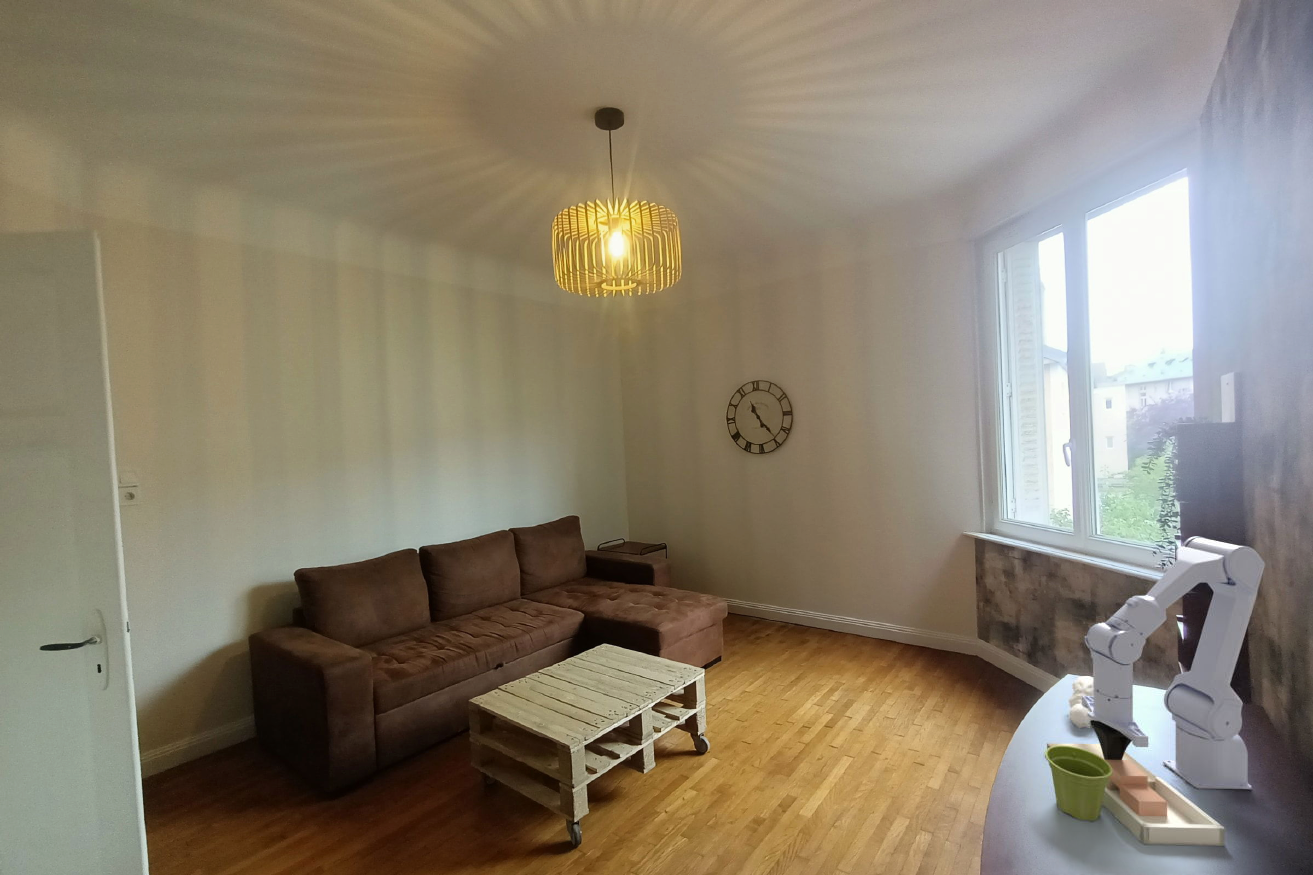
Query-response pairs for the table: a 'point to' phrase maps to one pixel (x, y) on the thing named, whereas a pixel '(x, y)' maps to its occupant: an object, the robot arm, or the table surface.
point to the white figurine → (1080, 701)
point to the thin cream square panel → (1098, 751)
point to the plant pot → (1078, 780)
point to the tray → (1168, 820)
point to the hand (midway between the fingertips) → (1112, 763)
